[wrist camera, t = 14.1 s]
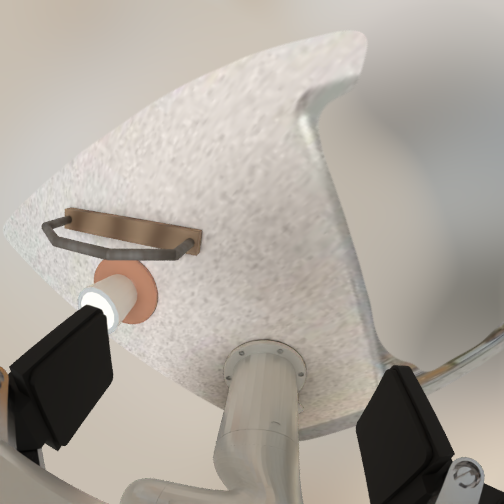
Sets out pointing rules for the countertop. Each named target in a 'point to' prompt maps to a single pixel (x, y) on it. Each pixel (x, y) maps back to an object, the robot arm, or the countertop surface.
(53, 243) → the arched handle
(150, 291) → the coaster
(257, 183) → the countertop surface
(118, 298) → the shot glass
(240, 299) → the countertop surface
